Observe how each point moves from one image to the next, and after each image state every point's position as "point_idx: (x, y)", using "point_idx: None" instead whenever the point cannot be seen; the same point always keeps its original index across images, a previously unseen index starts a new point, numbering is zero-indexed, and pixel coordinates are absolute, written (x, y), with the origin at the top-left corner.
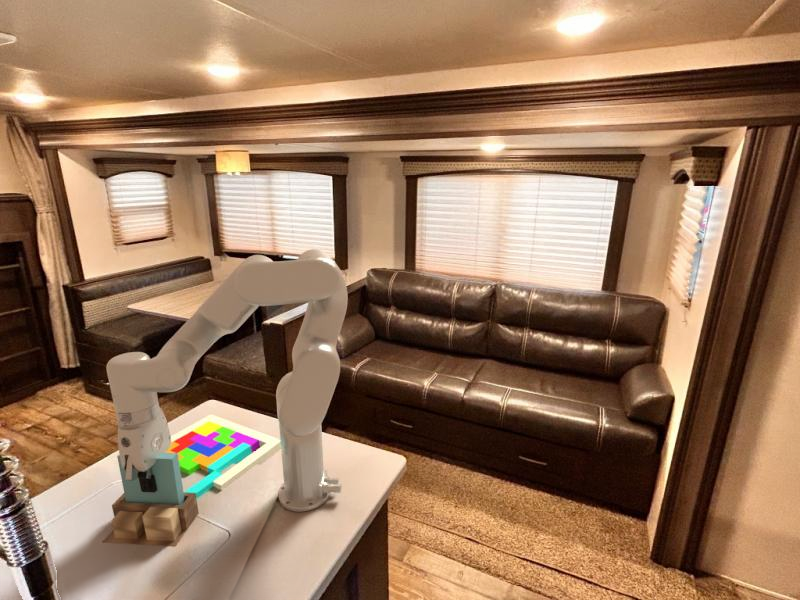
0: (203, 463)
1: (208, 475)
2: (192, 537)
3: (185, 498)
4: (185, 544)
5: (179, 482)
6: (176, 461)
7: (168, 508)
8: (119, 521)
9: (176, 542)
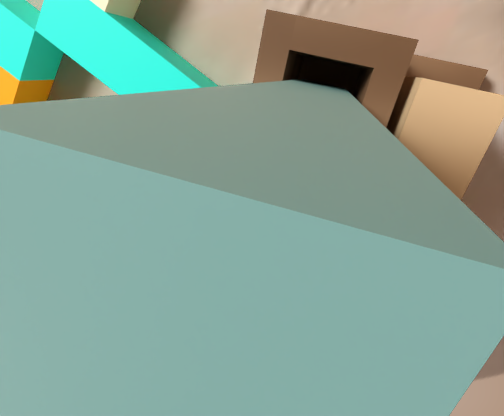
0: (2, 104)
1: (67, 52)
2: (418, 18)
3: (286, 76)
4: (455, 38)
5: (306, 89)
6: (250, 114)
7: (405, 139)
8: None
9: (461, 74)
